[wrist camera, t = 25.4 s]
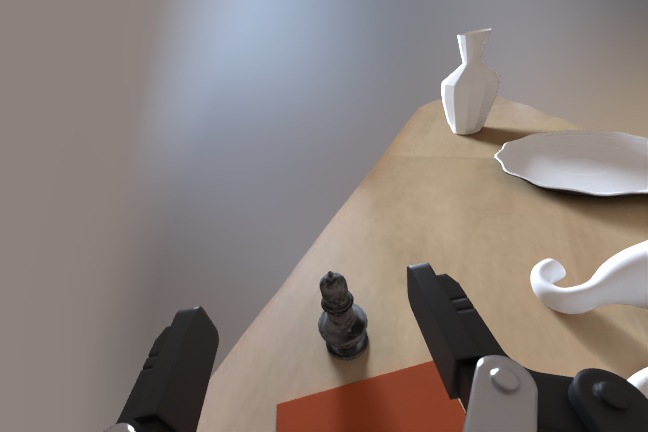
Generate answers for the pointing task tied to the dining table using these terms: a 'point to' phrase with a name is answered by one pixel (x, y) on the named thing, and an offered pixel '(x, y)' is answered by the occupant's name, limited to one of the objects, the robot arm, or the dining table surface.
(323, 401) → the rectangular block
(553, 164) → the plate
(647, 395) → the stomach
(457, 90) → the vase
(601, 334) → the dining table surface
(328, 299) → the chess piece
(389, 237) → the dining table surface
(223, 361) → the dining table surface
